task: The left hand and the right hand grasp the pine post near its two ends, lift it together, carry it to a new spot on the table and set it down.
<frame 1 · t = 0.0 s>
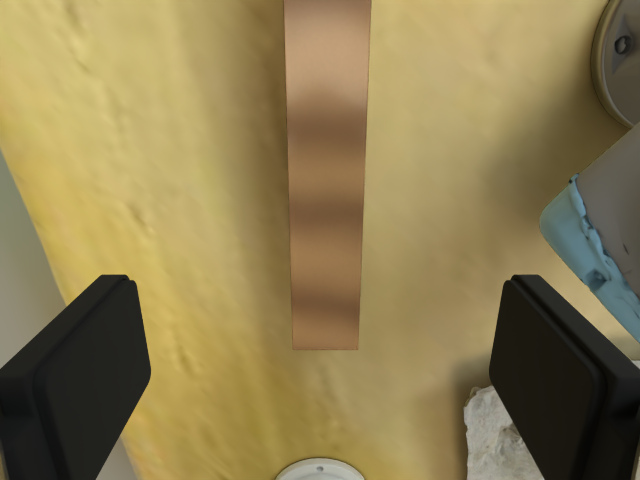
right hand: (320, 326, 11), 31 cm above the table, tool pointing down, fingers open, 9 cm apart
post: (326, 5, 36), on the table
grey rock slab: (576, 449, 54), on the table
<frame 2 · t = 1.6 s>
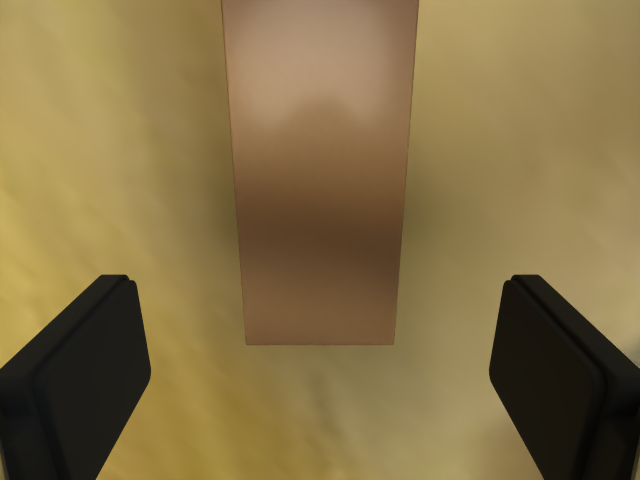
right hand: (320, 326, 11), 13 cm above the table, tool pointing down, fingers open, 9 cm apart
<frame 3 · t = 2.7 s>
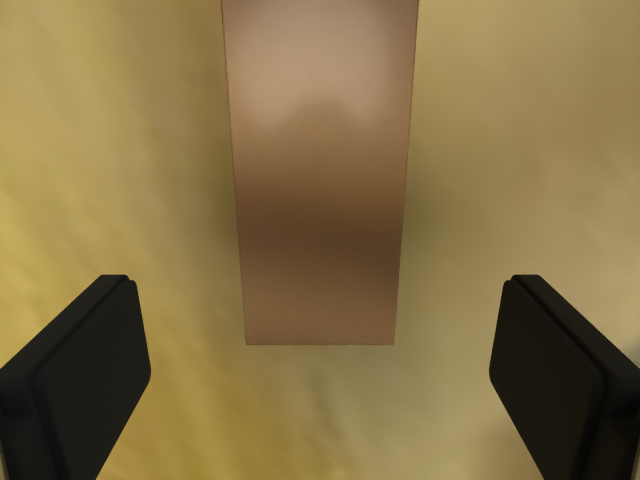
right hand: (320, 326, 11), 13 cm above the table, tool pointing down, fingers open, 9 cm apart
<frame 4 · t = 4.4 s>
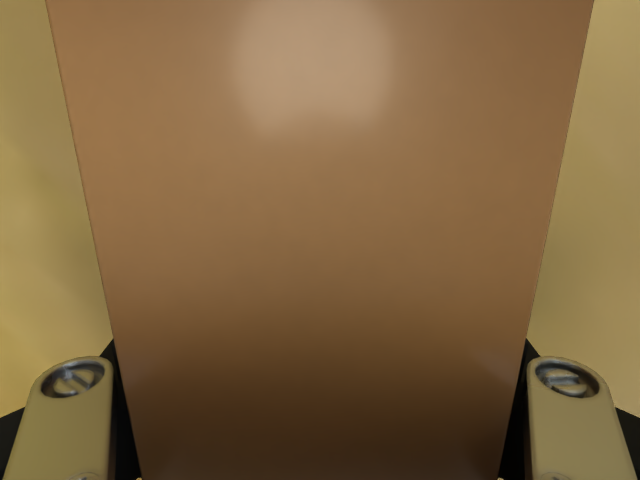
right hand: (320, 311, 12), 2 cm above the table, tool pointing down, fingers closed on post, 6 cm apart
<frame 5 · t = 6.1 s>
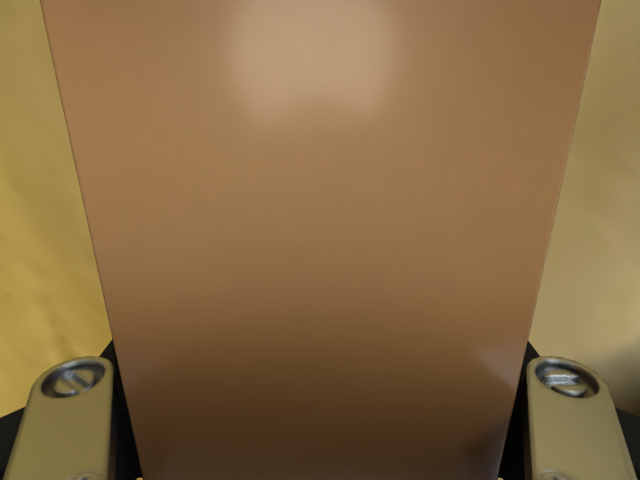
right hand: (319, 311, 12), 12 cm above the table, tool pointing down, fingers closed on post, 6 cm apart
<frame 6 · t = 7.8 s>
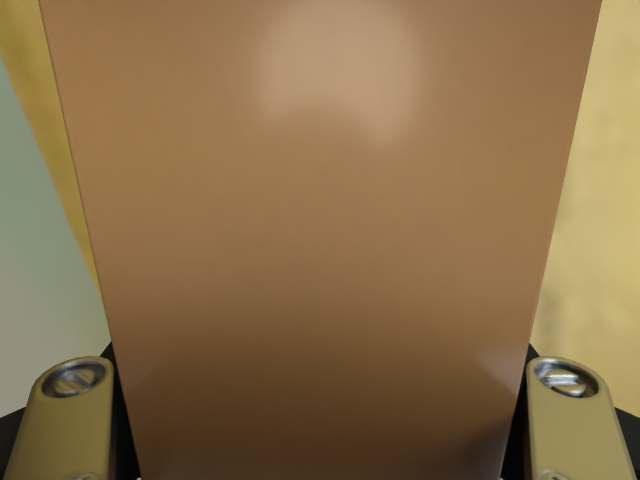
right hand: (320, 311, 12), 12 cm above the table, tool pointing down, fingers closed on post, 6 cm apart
when the left hand's fingers open (2 cm above the table, at t = 9.3 s): post drops 1 cm, on the table.
when the right hand's fingers open (3 cm above the table, at t = 9.5 s): post stays where it is, on the table.
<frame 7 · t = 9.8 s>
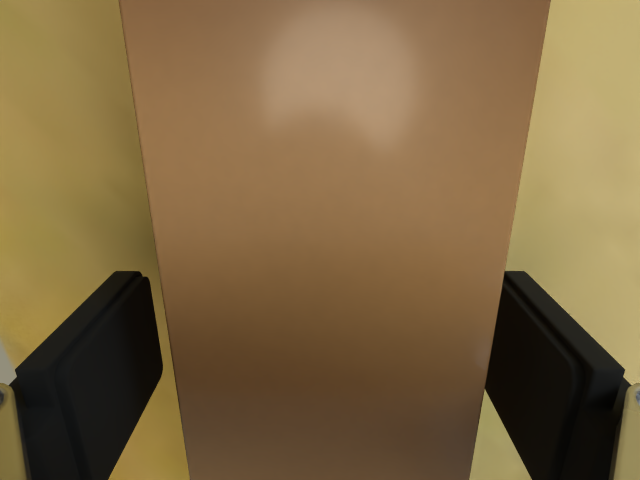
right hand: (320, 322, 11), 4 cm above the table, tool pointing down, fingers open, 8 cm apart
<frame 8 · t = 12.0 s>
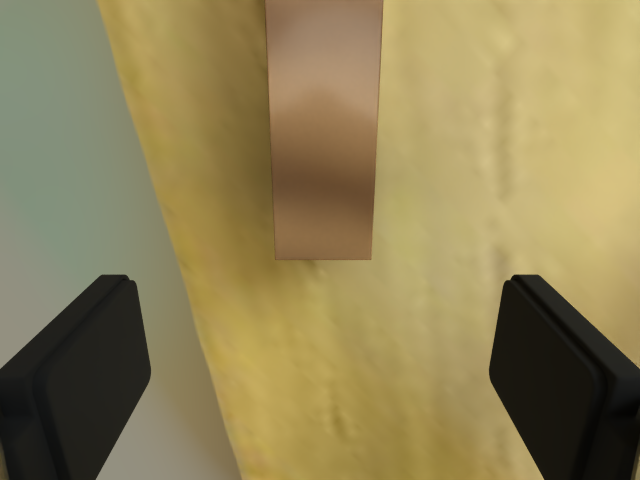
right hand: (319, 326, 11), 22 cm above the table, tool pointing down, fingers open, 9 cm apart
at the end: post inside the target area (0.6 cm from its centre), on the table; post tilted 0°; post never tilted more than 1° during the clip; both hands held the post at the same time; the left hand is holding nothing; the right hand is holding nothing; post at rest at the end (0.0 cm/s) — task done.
